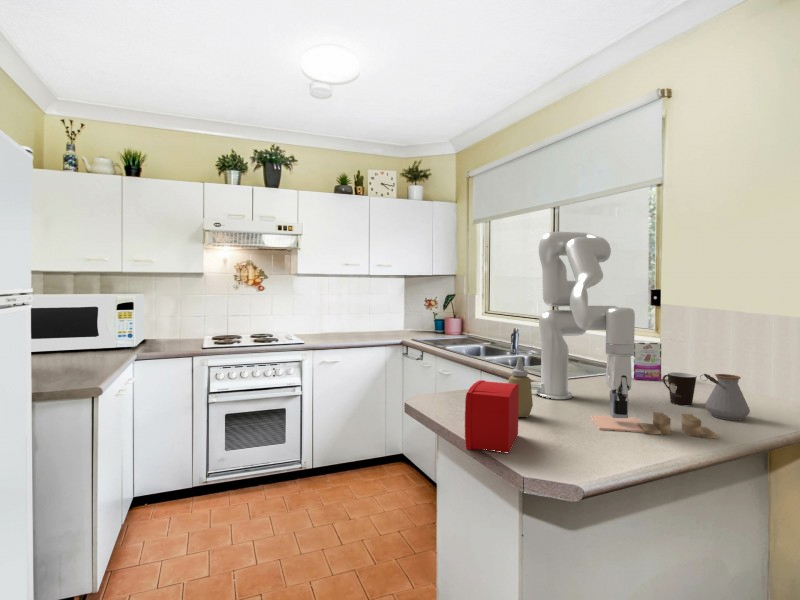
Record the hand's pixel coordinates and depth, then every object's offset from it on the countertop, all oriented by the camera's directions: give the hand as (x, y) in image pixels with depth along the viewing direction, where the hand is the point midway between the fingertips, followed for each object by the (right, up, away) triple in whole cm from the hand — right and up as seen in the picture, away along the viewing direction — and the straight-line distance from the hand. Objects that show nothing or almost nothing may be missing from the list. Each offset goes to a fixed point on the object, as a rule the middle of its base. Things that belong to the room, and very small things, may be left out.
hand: (618, 411), depth 135 cm
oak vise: (+13, -4, -7) cm, 15 cm away
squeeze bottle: (-27, -4, +9) cm, 28 cm away
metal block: (0, -1, 0) cm, 1 cm away
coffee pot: (+34, -4, +6) cm, 35 cm away
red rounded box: (-40, -4, -15) cm, 43 cm away
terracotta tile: (0, -4, 0) cm, 4 cm away
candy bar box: (+43, -2, +67) cm, 80 cm away
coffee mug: (+34, -3, +27) cm, 44 cm away
